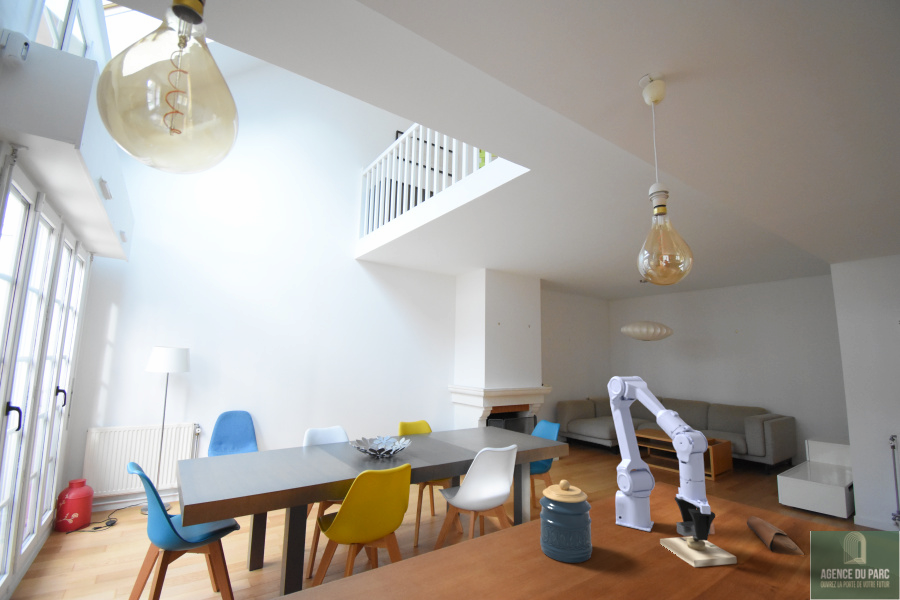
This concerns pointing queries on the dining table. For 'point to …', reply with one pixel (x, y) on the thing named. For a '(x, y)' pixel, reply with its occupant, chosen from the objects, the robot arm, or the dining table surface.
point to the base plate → (698, 551)
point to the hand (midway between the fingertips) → (695, 533)
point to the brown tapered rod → (773, 537)
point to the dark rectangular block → (690, 529)
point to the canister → (565, 523)
